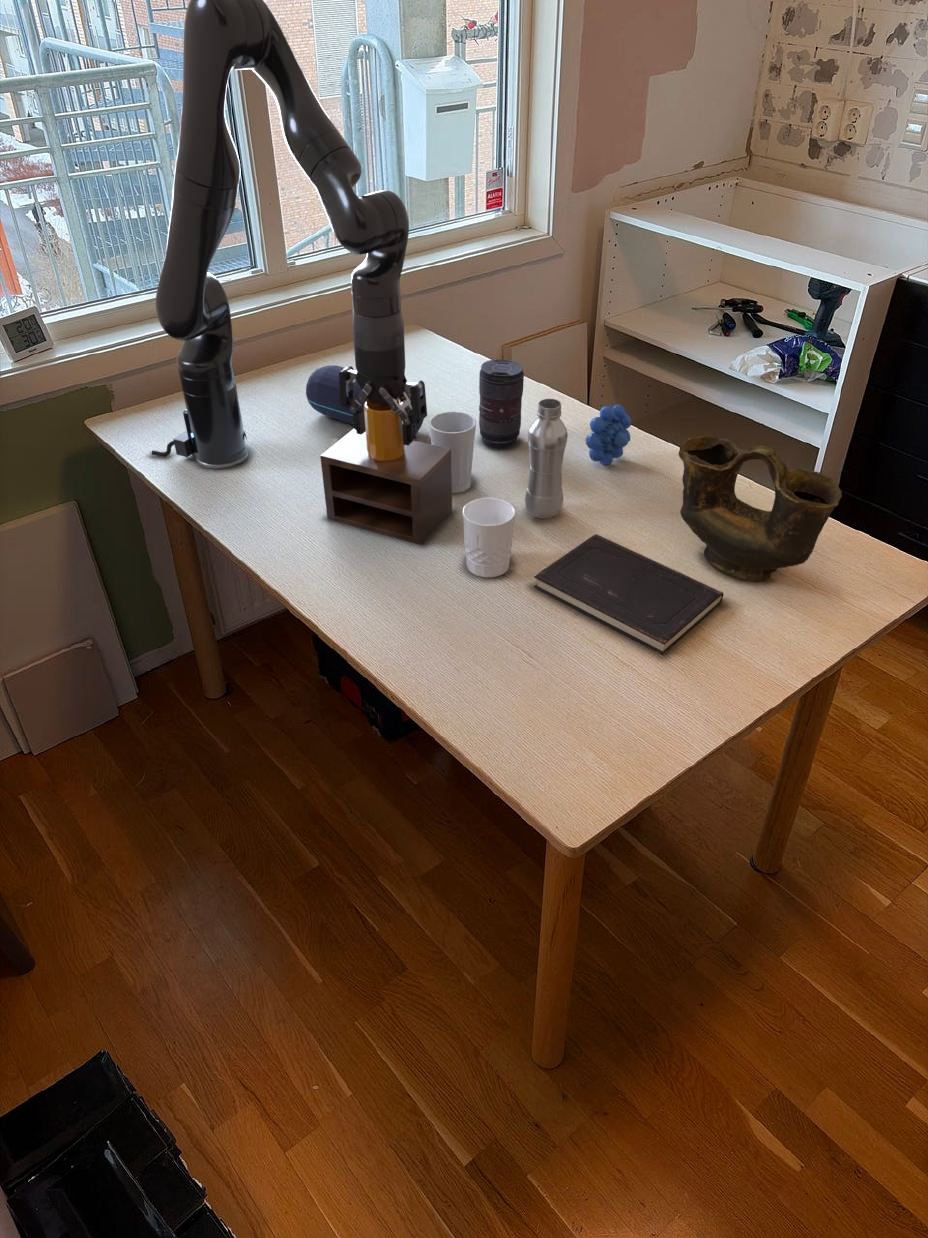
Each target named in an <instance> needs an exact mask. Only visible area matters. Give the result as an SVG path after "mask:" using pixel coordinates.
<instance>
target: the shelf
mask: <svg viewBox="0 0 928 1238" xmlns="http://www.w3.org/2000/svg"><path fill="white" fill-rule="evenodd" d="M319 458H320V465H321V466H320V467H321V473H322V484H323V491H324V492H323V493H324V500H325V511H326V518H327V520H330V521H333V522H338V523H340V524H345V525H348V526H351V527H355V528H359V529H362V530H366V531H370V532H373V533H377V534H381V535H385V536H388V537H391V538H395V539H398V540H402V541H406V542H410V543H414V544H417V545H420V546H423V544H425V542H426V541H427V540H428V539H429V538H430V537H431V535H432V534H434V532H436V530H437V529H438V528H439V527H440V526H441V525H442V524H443V522H445V520H446V519H447V518H448V517H449V516H450V515H451V514H452V513H453V496H452V495H453V493H452V475H451V449H448V448H444V447H440V446H436V445H432V443H426V442H422V441H417V440H414V441H413V442H412V443H411V444H410V445H409V446H407V445H404V454H403V456H401V457H400V458H398V459H396V460H392V461H378V460H375V459H372V458H371V457H370V456H369V455H368V451H367V442H366V431H365V432H364V433H363V434H362V435H360V434H357V432H356V430H355V429H354V428H352V429H351V430H350V431H349V432H348V433H346V434H345V435H344V436H343V437H341V438H340V439H338V440H337V441H336V442H335V443H333V444H332V445H331V446H329V448H327V449H326V450H324V452H323V453H321V454H320V456H319Z"/></svg>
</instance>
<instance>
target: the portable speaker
mask: <svg viewBox="0 0 928 1238" xmlns="http://www.w3.org/2000/svg"><path fill="white" fill-rule="evenodd" d="M345 368H346V367H344V366H340V365H337V364H335V365H333V364H332V365H325V366H322V367H319V368H316V369H315V370H314V371H313V372H312V373H311V374H310V375H309V377H308V380H307V382H306V386H305V397H306V400H307V402H308V404H309V405H310V407H311V408H312V409H314V410H315V411H316V412H318V413H320V414H321V415H323V416H325V417H328V418H332V419H335V420H338V421H341V422H345V423H348V424H351V425H354V423H353V413H352V412H351V410H350V408H348V407H342V406H341V404H340V388H339V373H340V372H341V371H342V370H343V369H345ZM361 391H362V389H361V388H360V386H359V385H358V383H357V382H356V381H355V382H354V396H355V399H356V398H357V396H358V395H359V394H360V392H361ZM405 393H406V395H407V396H408V395H409V394H408V391H407V390H405ZM408 398H409V399H410V401H411V397H409V396H408ZM411 406H412V403H411ZM363 408H364V406H363ZM424 420H425V418H424V419H423V420H422V421H421V422H420V423H418V424H417V423H416V435H417V434H418V432H419V430H420V429H421V428H422V425H423V422H424Z"/></svg>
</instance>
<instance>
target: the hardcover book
mask: <svg viewBox="0 0 928 1238" xmlns="http://www.w3.org/2000/svg"><path fill="white" fill-rule="evenodd" d="M533 578H534V579H536V584H535V585H533V589H535V590H537V591H539V592H541V593H543V594H544V595H547V596H549V597H551V598H552V599H554V600H556V601H559V602H560V603H563V604H564V605H565V606H568V607H570V608H572V609H573V610H575V611H577V612H578V613H580V614H583V615H585V616H586V617H589V618H590V619H592V620H595V621H596V622H598V623H600V624H602V625H604V626H606V627H608V628H610V629H612V630H613V631H616V632H618V633H619V634H621V635H623V636H625V637H627V638H629V639H631V640H632V641H635V642H636V643H638V644H640V645H642V646H644V647H646V648H648V649H650V650H652V651H654V652H656V653H657V654H660V655H662V656H663V655H664V654H666V653H667V652H668V651H669V650H670V649H671V648H672V647H674V646H675V645H677V643H678V642H679V641H680V640H682V639H684V637H685V636H687V634H688V633H690V632H691V631H692V630H693V629H694V628H695V627H696V626H697V625H699V624H700V623H701V622H702V621H703V620H705V619H706V618H707V617H708V616H709V615H710V614H711V613H713V612H714V611H715V610H716V609H717V608H718V607H719V606H720V605H721V604H722V602H723V601H724V600H723V599H724V596H725V595H724V592H722V591H721V590H718V589H716V588H715V587H712V586H710V585H708V584H705V583H703V582H701V581H699V580H697V579H694V578H693V577H691V576H688V575H687V574H684V573H682V572H680V571H677V570H675V569H673V568H671V567H669V566H666V565H664V564H662V563H661V562H658V561H656V560H654V559H651V558H649V557H647V556H646V555H645V556H644V555H643V554H641V553H639V552H636V551H634V550H632V549H630V548H628V547H626V546H624V545H621V544H619V543H618V542H617V543H616V542H615V541H612V540H610V539H608V538H607V537H604V536H601V535H600V534H598V533H594V534H593V535H591V536H590V537H589V538H587V539H585V540H584V541H582V542H581V543H580V544H579V545H577V546H576V547H574V548H572V549H571V550H570V551H568V552H567V553H566V554H564V555H563V556H561V557H559V559H557V560H555V561H554V562H553V563H551V564H549V565H548V566H547V567H545V568H544V569H542V570H541V571H539V572H538V573H537V574H534V576H533Z"/></svg>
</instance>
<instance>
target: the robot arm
mask: <svg viewBox="0 0 928 1238" xmlns="http://www.w3.org/2000/svg"><path fill="white" fill-rule="evenodd" d="M183 27H184V28H183V54H182V55H183V57H182V58H183V60H182V61H183V62H182V69H183V70H182V72H183V73H182V80H183V81H182V100H181V115H180V126H179V137H178V147H177V153H176V160H175V167H174V177H173V185H172V197H171V198H172V199H171V210H170V217H169V224H168V230H167V231H168V233H167V241H166V249H165V254H164V260H163V264H162V268H161V272H160V276H159V280H158V283H157V284H158V285H157V289H156V294H155V304H154V305H155V313H156V317H157V320H158V321H159V324H160V326H161V328H162V329H163V331H164V332H165V333H166V334H167V335H168V336H169V337H170V338H172V339H174V340H177V341H182V342H183V343H182V346H181V348H180V349H179V351H178V353H177V355H176V365H177V370H178V375H179V376H178V377H179V380H180V385H181V390H182V395H183V399H184V403H185V408H186V409H184V410H183V412H182V414H183V421H184V425H185V431H184V432H182V433H180V434H179V435H177V436H175V437H174V438H173V439H172V440H171V441H170V442H168V443H167V445H166V450H165V451H163V452H162V451H158V450H151V455H152V456H157V457H168V456H170V454H171V453H172V447H174V449H175V453H176V455H177V456H180V457H185V458H190V456H191V458H192V460H195V461H196V462H197V464H198V465H199V466H201V467H204V468H207V469H213V470H221V469H229V468H232V467H235V466H237V465H240V464H241V463H243V462H244V461H246V459H247V458H248V456H249V451H248V447H247V443H246V441H247V440H248V438H247V433H246V432H245V430H244V425H243V424H244V423H243V419H242V412H241V406H240V401H239V395H238V389H237V383H236V378H235V372H234V366H233V365H234V364H233V354H234V348H235V341H234V334H233V323H232V317H231V315H232V314H231V309H230V303H229V299H228V296H227V293H226V291H225V288H224V287H223V285H222V283H221V282H220V280H219V279H217V277H216V276H215V275H213V273H212V274H211V272H209V269H210V266H211V263H212V260H213V258H214V256H215V254H216V252H217V251H218V249H219V246H220V245H221V243H222V240H223V238H224V236H225V234H226V232H227V230H228V228H229V226H230V223H231V222H232V219H233V216H234V212H235V210H236V209H235V208H236V204H237V198H238V191H239V185H240V180H241V163H240V159H239V154H238V151H237V148H236V145H235V142H234V140H233V137H232V135H231V132H230V129H229V125H228V123H227V118H226V100H227V99H226V97H227V88H228V83H229V78H230V75H231V74H230V73H231V72H232V71H241V70H242V71H243V70H252V72H253V73H255V74H256V76H257V77H258V78H259V79H260V80H261V81H262V82H263V83H264V85H265V86H266V87H267V88H268V89H269V91H270V93H271V94H272V96H273V98H274V100H275V103H276V106H277V110H278V114H279V118H280V126H281V130H282V135H283V138H284V141H285V144H286V146H287V149H288V151H289V153H290V154H291V156H292V157H293V159H294V160H295V162H296V163H297V165H298V166H299V168H300V169H301V170H302V172H303V173H304V175H305V176H306V178H307V179H308V180H309V182H310V183H311V184H312V186H313V187H314V188H315V190H316V192H317V194H318V197H319V200H320V202H321V205H322V207H323V210H324V212H325V215H326V217H327V220H328V222H329V225H330V228H331V231H332V232H333V235H334V237H335V239H336V240H337V242H338V243H339V244H340V245H341V246H342V247H343V248H344V249H345V250H346V251H348V252H350V253H351V254H354V255H357V256H362V255H366V257H365V258H364V260H363V261H362V262H361V263H360V264H359V265H358V266H356V268H355V269H353V271H352V273H351V276H350V291H351V303H352V324H351V325H352V337H353V338H352V339H353V340H352V341H353V350H354V351H353V352H354V363H355V364H354V365H355V368H354V367H353V366H352V365H347V366H346V367H344V368H345V369H343V370H342V371H341V372H340V373H339V388H340V404H341V406H342V407H348V408H350V410H351V412H352V413H353V423H354V424H353V429H355V430H356V432H357V434H360V435H362V434H363V433H364V432H365V431H366V429H365V416H364V408H363V406H364V402H365V401H366V400H368V399H369V400H370V401H371V403H374V404H382V405H384V406H387V407H389V406H390V407H391V408H392V410H393V411H394V413H396V414H398V415H399V417H400V418H401V420H402V421H403V424H402V426H403V444H404V445H407V446H409V445H410V444H411V443H412V442H413V441H416V439H417V434H416V423H417V424H418V423H420V422H421V421H422V420H423V419H424V420H425V418H426V417H427V416H428V407H427V406H428V405H427V393H426V384H425V382H424V381H423V380H421V379H420V380H418V381H417V382H413V381H408V380H407V377H406V373H405V372H406V347H405V346H406V344H405V343H406V342H405V325H404V324H405V323H404V317H403V311H402V296H401V275H402V272H403V268H404V263H405V257H406V252H407V246H408V241H409V234H410V220H409V215H408V210H407V208H406V206H405V203H404V202H403V200H402V198H401V197H400V196H399V195H397V193H395V192H393V191H391V190H387V189H381V190H377V191H373V192H371V193H367V194H364V195H361V196H358V194H357V193H355V191H354V187H355V186H356V185H357V183H358V182H359V181H360V179H361V176H362V165H361V162H360V160H359V158H358V157H357V155H356V154H355V152H354V150H352V148H351V146H350V145H349V143H348V142H347V141H346V140H345V138H344V137H343V135H342V134H341V133H340V131H339V130H338V128H337V127H336V125H335V124H334V123H333V121H332V119H331V118H330V117H329V115H328V114H327V112H326V111H325V110H324V108H323V106H322V105H321V102H319V100H318V97H317V96H316V94H315V92H314V91H313V89H312V87H311V85H310V83H309V81H308V80H307V77H306V75H305V73H304V71H303V69H302V67H301V66H300V63H299V61H298V60H297V58H296V56H295V54H294V52H293V50H292V47H291V45H290V44H289V42H288V40H287V37H286V36H285V34H284V32H283V29H282V28H281V26H280V24H279V22H278V21H277V18H276V17H275V15H274V13H273V12H272V10H271V8H270V7H269V4H267V3H266V1H265V0H189V2H188V5H187V7H186V12H185V18H184V26H183ZM355 381H356V382H357V383H358V385H359V386H360V388H361V389H362V391H361V392H360V394H359V395H358V396H357V398H356V399H355V396H354V382H355ZM405 390H407V391H408V394H409V395H408V396H409V397H411V401H410V399H409V398H408V396H407V395H406V393H405ZM399 399H400V400H401V404H400V405H399V404H398V403H397V401H398V400H399ZM411 403H412V406H411ZM424 420H423V421H424Z"/></svg>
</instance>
